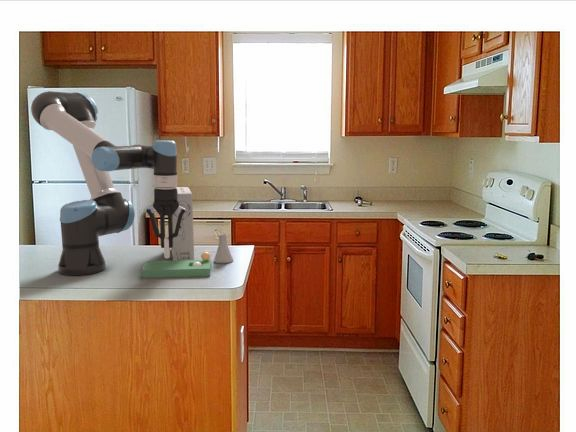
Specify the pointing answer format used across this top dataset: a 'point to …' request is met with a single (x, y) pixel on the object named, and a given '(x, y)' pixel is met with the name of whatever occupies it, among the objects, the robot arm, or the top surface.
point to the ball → (197, 264)
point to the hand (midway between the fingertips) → (167, 257)
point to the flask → (223, 251)
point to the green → (176, 268)
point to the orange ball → (205, 256)
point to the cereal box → (184, 227)
